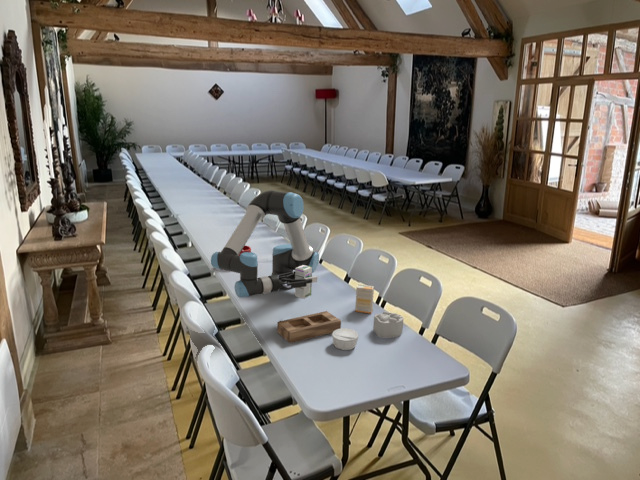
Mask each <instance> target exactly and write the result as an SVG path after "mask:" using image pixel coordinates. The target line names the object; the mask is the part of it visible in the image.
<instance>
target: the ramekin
mask: <svg viewBox="0 0 640 480" xmlns="http://www.w3.org/2000/svg"><path fill="white" fill-rule="evenodd" d="M331 337H332V343H333V345H334V347H335V348H336V349H339V350H342V351H350V350H354V348H355V347H356V345H357V342H358V339H359V334H358V332H357V331H355V330H354V329H351V328H346V327H345V328H342V327H341V329H337V330H335V331H334V332H333V333H331Z"/></svg>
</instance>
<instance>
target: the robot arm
mask: <svg viewBox="0 0 640 480" xmlns="http://www.w3.org/2000/svg"><path fill="white" fill-rule="evenodd" d="M304 206H305V204H304V200H303V197H302V196H301V195H300V194H297V193H294V192H292V191H291V192H290V191H289V192H288V191H280V190H273V189H271V190H266V191H263V192H261V193H259V194H258V195H257V196H255V197H254V198H253V199H252V200H251V201H250V203H249V204H248V205H247V207H246V212H245V214H244V216H242V219H241V220H240V221H239V223H238V224H237V226H236V228H235V230H234V232H232V234H231V236H230V238H229V239H228V240H227V242H226V243H225V245H224V247H223V248H222V250H221V251H214V252H213V254H212V255H211V256H210V265H211V266H212V268H214V269H216V270H220V271H226V272H232V273H236V274H239V278H240V279H239V280H236V282H235V283H234V291H235V292H234V293H235V295H236V296H237V297H238V298H241V299H242V298H249V297H253V296H257V295H259V296H260V295H265V294H269V293H275V292H278V291H279V290H280V291H281V290H290V289H291V290H292V289H295V288H298V287H306V286H307V284H309V283H312V284H313V283H318V275H315V276H312V277H309V278H305V279H296V280H295V268H297V267H299V266H302V265H306V266H310V267H312V274H313V273H315V272H316V271H317V269H318V265H319V262H320V254H319V252H316V251H314V250H313V247H312V246H311V245H310V244H309V243H308V240H307V237H306V233H305V229H304V226H303V225H302V221H301V217H302V215H303V212H304V211H305V210H304V209H305V207H304ZM267 215H273V216H276V217H277V218H278V221H279V222H280V223H282V224H283V226H284V228H285V231H286V235H287V237H288V240H289V242H290V243H287V244H285V243H283V244H279V245H276V246H274V247H273V249H272V254H271V255H272V258H271V259H272V265H271V266H272V271H271V275H265V276H260V277H258V265H259V263H258V255H257V253H255V252H253V251H251V252H244V253H242V254H241V255H240V256H238V255H239V254H240V252H241V251H242V249H243V247H244V246H246V244H247V242H248V241H249V239H250V237H251V236H252V234H253V232H254V231H255V229H256V228H257V226H258V224H259V223H260V221H261V220H264V219H265V217H266V216H267Z"/></svg>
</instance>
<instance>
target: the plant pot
mask: <svg viewBox="0 0 640 480" xmlns="http://www.w3.org/2000/svg"><path fill="white" fill-rule="evenodd" d="M244 252H252V248H251V247H250V246H249V245H245V246H244V247H243V249H242V251H241V252H240V254H239V255H238V256H240V255H241V254H242V253H244Z"/></svg>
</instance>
